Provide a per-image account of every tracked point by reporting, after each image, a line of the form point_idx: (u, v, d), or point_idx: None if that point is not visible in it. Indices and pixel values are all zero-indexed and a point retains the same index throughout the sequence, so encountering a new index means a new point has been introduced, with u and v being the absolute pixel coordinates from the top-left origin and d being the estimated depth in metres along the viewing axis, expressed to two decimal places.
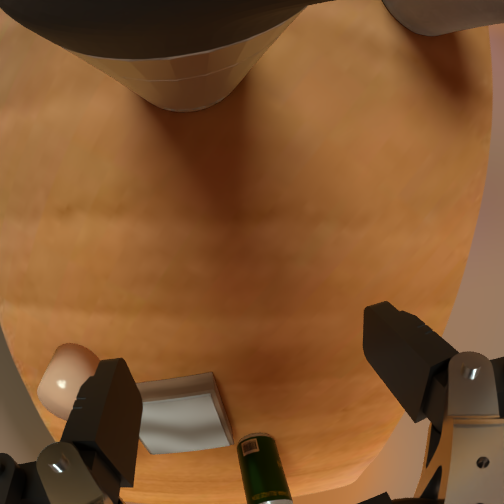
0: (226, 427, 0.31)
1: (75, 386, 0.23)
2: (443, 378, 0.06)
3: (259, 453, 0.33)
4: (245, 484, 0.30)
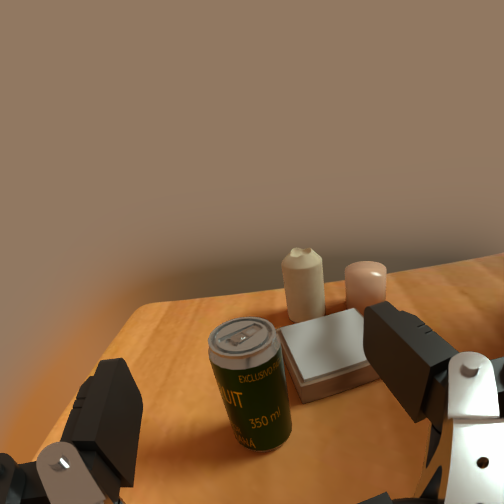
0: (339, 374, 0.28)
1: (385, 274, 0.40)
2: (443, 378, 0.06)
3: None
4: None
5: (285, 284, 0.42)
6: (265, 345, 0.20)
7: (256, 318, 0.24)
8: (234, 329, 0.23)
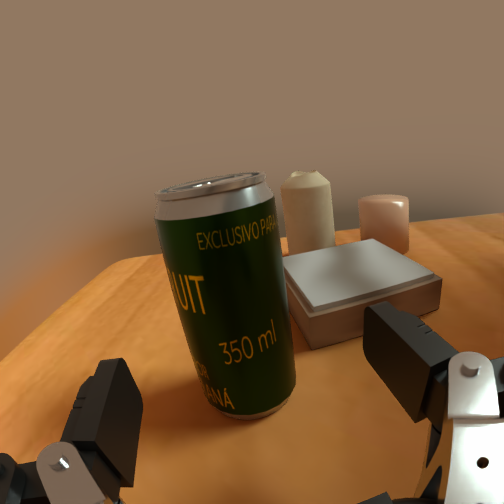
0: (364, 301, 0.20)
1: (407, 203, 0.31)
2: (443, 378, 0.06)
3: (290, 333, 0.16)
4: None
5: (285, 213, 0.34)
6: (246, 178, 0.12)
7: (237, 174, 0.15)
8: (201, 181, 0.14)
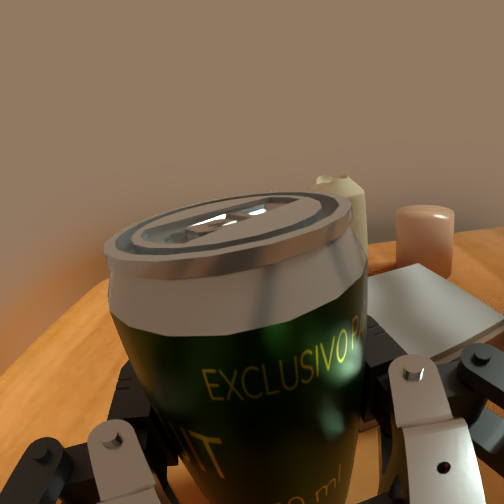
0: None
1: None
2: (386, 380, 0.07)
3: None
4: None
5: None
6: (327, 221, 0.04)
7: (274, 192, 0.08)
8: (204, 211, 0.07)
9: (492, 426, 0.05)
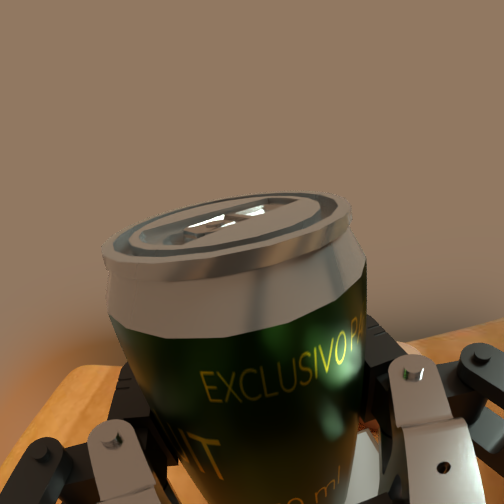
0: None
1: None
2: (386, 380, 0.07)
3: None
4: None
5: None
6: (326, 222, 0.04)
7: (273, 193, 0.08)
8: (203, 211, 0.07)
9: (492, 426, 0.05)
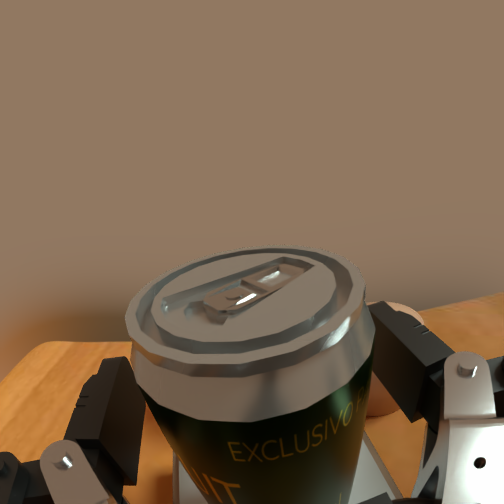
0: None
1: None
2: (439, 378, 0.06)
3: None
4: None
5: None
6: (343, 316, 0.05)
7: (287, 247, 0.08)
8: (220, 272, 0.07)
9: None
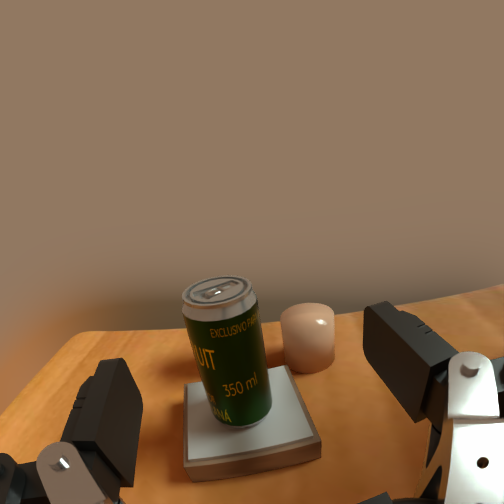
0: (233, 459, 0.20)
1: (330, 324, 0.32)
2: (443, 378, 0.06)
3: (268, 375, 0.24)
4: None
5: None
6: (239, 296, 0.20)
7: (234, 276, 0.23)
8: (210, 285, 0.22)
9: None
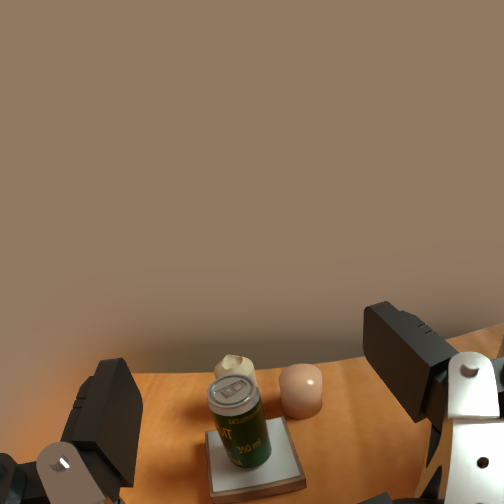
0: (244, 491, 0.27)
1: (318, 385, 0.39)
2: (443, 378, 0.06)
3: (268, 434, 0.31)
4: None
5: None
6: (247, 400, 0.27)
7: (243, 375, 0.30)
8: (226, 384, 0.29)
9: None
